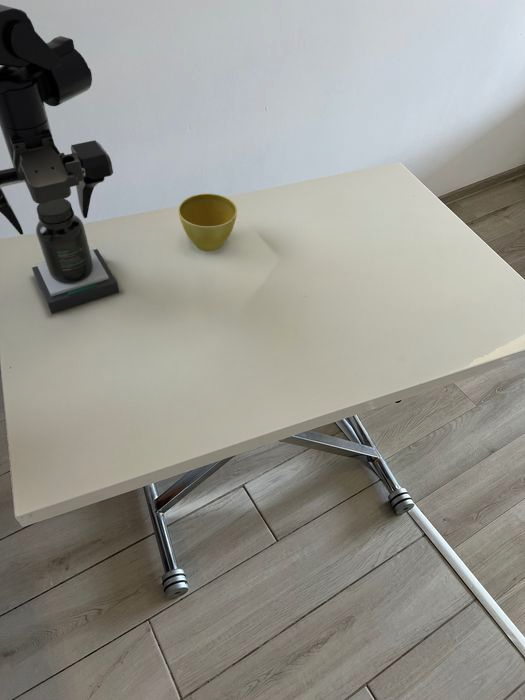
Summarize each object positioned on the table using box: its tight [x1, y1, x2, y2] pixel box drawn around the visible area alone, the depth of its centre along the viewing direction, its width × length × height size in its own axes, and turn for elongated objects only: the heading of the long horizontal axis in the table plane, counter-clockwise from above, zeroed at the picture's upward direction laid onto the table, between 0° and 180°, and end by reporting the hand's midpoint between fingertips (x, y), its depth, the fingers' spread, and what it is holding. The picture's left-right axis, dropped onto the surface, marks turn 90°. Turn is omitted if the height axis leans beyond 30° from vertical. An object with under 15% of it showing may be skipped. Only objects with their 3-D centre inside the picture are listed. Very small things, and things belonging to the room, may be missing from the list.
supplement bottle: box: [35, 198, 93, 283], centre depth 81 cm, size 7×7×12 cm
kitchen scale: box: [31, 248, 120, 315], centre depth 87 cm, size 11×10×3 cm
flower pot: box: [178, 193, 238, 252], centre depth 94 cm, size 10×10×7 cm
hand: (53, 224), depth 78 cm, fingers open, 9 cm apart
